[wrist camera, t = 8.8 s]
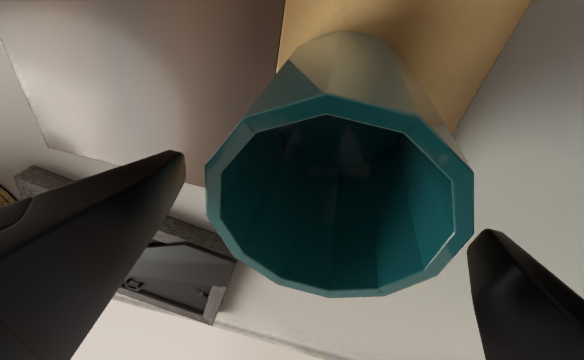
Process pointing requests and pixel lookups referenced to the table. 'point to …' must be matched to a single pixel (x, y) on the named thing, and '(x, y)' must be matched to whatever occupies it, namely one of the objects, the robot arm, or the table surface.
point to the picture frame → (165, 261)
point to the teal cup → (342, 175)
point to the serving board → (219, 63)
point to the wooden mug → (5, 198)
